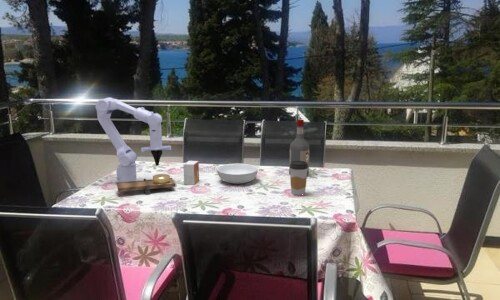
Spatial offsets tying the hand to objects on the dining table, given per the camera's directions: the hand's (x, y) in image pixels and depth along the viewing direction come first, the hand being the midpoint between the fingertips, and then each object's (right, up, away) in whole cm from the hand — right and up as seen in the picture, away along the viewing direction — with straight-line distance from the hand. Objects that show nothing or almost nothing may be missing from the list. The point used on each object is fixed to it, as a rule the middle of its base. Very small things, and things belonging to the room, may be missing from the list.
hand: (157, 165), depth 216 cm
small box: (+17, -9, +3) cm, 20 cm away
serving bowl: (+40, -9, +5) cm, 41 cm away
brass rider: (+4, -8, -9) cm, 13 cm away
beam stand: (-3, -12, -11) cm, 16 cm away
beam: (-3, -9, -11) cm, 15 cm away
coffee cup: (+69, -13, -15) cm, 72 cm away
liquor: (+73, -6, +16) cm, 75 cm away
